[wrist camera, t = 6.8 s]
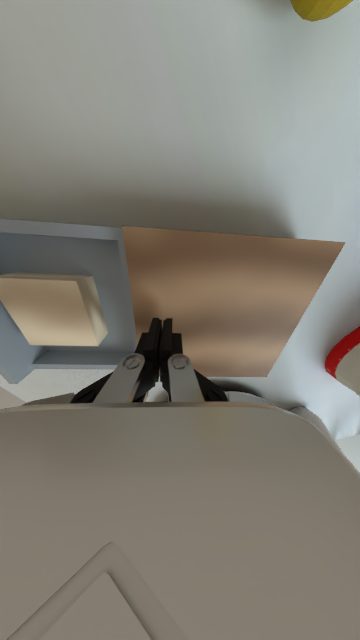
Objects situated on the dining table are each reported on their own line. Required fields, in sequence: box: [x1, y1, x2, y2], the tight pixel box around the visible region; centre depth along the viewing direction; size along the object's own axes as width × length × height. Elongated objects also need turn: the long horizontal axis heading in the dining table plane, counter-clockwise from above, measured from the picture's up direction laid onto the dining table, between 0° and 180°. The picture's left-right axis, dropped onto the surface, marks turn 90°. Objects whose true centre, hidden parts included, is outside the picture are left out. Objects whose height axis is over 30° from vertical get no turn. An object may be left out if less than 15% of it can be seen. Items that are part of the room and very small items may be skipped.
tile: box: [0, 272, 108, 346], centre depth 13 cm, size 7×7×2 cm
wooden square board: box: [122, 226, 346, 377], centre depth 14 cm, size 15×16×4 cm
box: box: [0, 219, 138, 384], centre depth 13 cm, size 15×14×5 cm
